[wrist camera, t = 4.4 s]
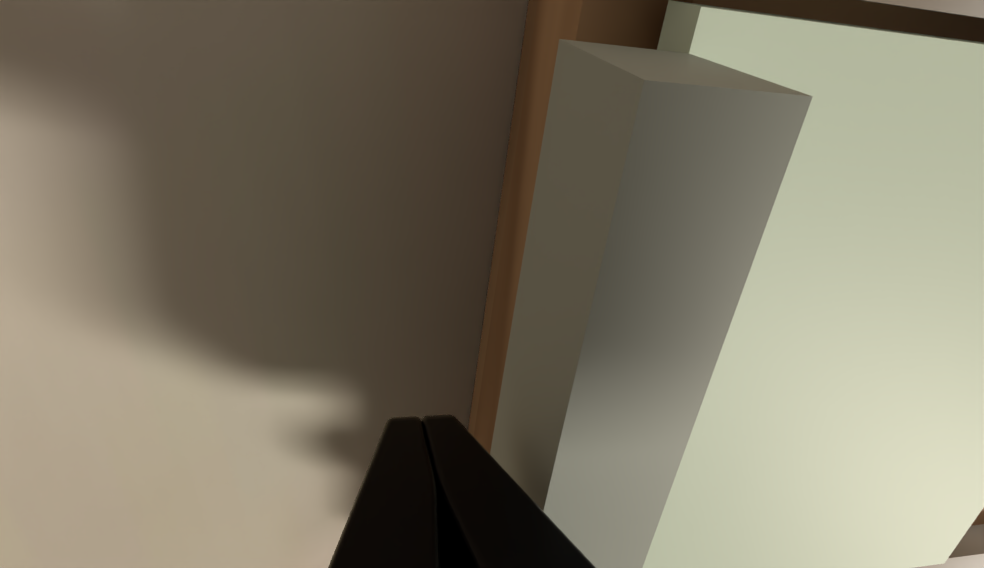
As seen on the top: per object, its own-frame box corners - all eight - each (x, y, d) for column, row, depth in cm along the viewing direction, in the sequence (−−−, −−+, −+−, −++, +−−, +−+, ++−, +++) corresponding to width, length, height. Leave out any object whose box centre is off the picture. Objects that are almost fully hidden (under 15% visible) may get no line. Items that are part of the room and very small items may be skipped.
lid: (453, 590, 12) (485, 760, 10) (545, -17, 7) (660, 11, 5) (917, 535, 15) (1033, 656, 13) (1216, 73, 10) (1511, 121, 8)
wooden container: (450, 555, 16) (473, 683, 13) (560, -226, 9) (665, -299, 6) (1010, 497, 21) (1112, 582, 18) (1395, -38, 13) (1669, -30, 11)
